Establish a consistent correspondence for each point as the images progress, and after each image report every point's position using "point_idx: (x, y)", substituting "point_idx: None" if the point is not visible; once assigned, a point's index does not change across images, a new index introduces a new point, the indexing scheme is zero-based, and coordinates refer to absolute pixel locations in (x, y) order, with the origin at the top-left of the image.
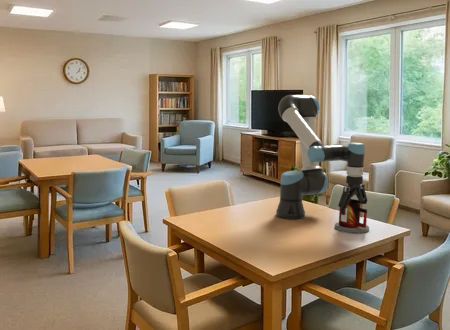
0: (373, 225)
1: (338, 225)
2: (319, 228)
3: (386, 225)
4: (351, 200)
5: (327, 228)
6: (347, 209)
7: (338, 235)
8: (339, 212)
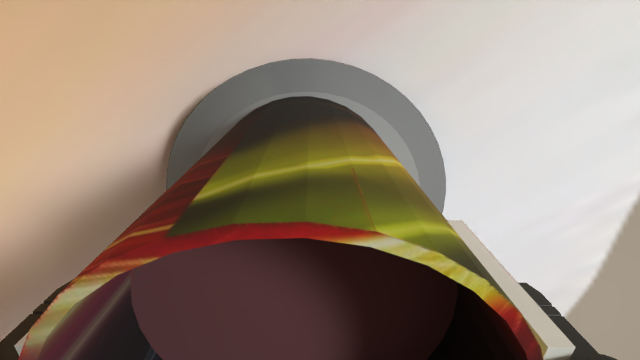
0: (502, 246)
1: (220, 130)
2: (54, 12)
3: (556, 291)
4: (505, 329)
5: (130, 67)
6: (147, 353)
7: (84, 231)
8: (199, 160)
